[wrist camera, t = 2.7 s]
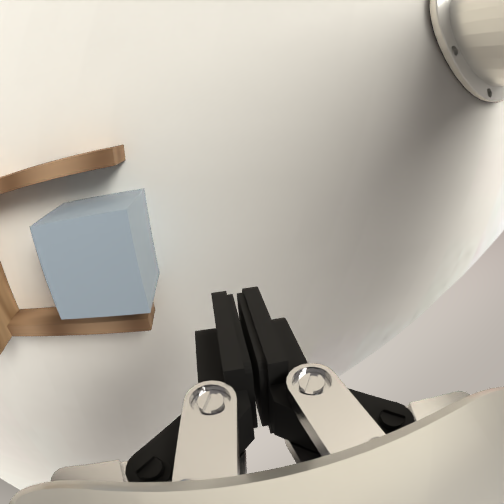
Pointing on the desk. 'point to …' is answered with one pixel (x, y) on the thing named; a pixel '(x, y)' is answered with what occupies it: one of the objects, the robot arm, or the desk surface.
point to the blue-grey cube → (99, 256)
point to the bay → (48, 319)
